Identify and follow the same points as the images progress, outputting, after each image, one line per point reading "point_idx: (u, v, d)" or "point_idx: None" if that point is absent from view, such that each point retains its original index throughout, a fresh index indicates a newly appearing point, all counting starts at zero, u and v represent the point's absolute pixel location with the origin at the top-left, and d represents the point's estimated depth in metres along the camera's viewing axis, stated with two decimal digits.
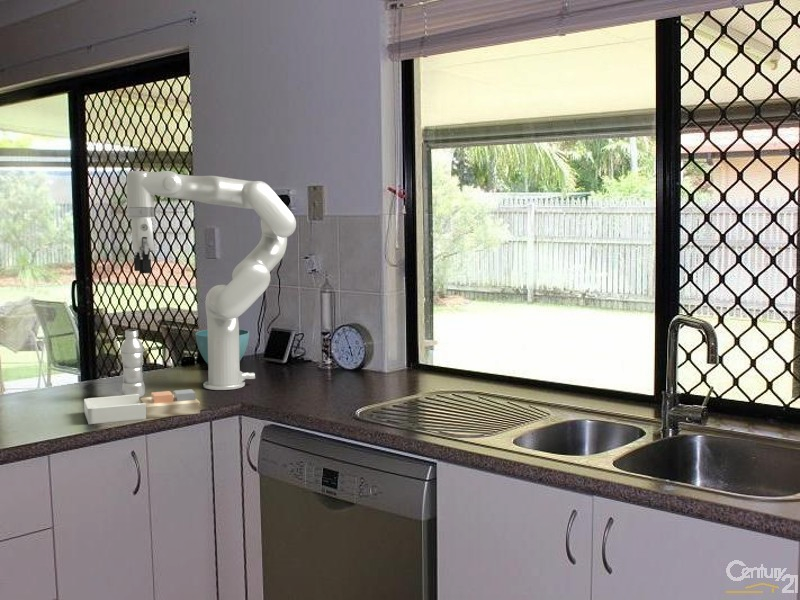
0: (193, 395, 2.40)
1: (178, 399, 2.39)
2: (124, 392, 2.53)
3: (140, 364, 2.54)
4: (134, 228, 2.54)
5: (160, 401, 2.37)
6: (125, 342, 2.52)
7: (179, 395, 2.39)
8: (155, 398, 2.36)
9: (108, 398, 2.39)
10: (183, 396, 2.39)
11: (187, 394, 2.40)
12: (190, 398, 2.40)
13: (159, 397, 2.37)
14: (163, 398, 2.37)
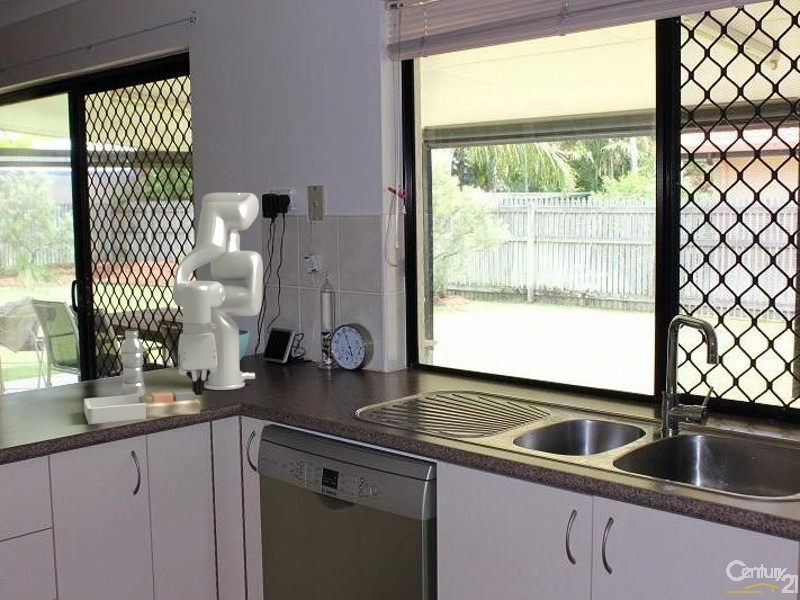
0: (192, 395, 2.40)
1: (177, 399, 2.39)
2: (124, 392, 2.53)
3: (140, 364, 2.54)
4: (208, 344, 2.41)
5: (160, 401, 2.37)
6: (125, 342, 2.52)
7: (178, 395, 2.39)
8: (155, 398, 2.36)
9: (108, 398, 2.39)
10: (182, 396, 2.39)
11: (186, 394, 2.40)
12: (189, 398, 2.40)
13: (159, 397, 2.37)
14: (163, 398, 2.37)
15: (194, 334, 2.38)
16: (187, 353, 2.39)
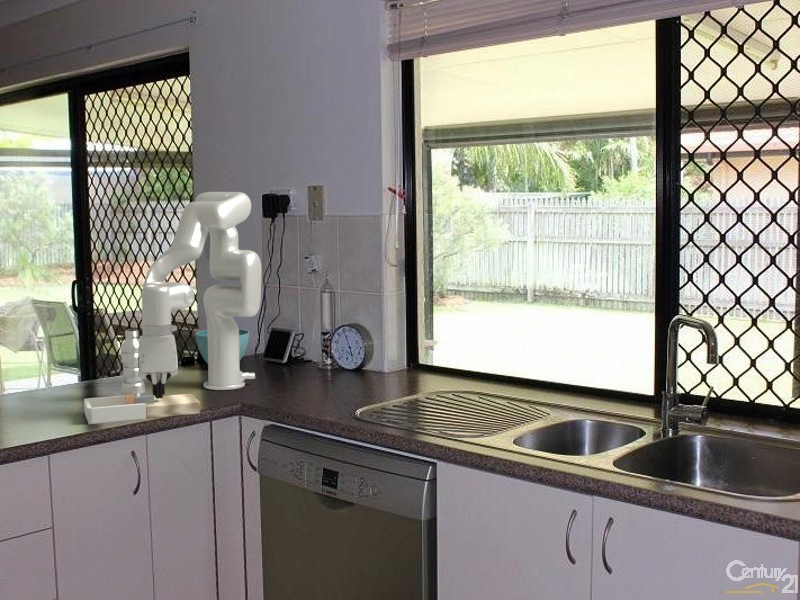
0: (152, 398, 2.36)
1: (136, 402, 2.34)
2: (124, 392, 2.53)
3: None
4: (168, 347, 2.36)
5: None
6: (125, 342, 2.52)
7: (137, 398, 2.34)
8: None
9: (108, 398, 2.39)
10: (142, 399, 2.35)
11: (146, 397, 2.35)
12: (149, 401, 2.36)
13: None
14: None
15: (153, 336, 2.33)
16: (146, 356, 2.34)
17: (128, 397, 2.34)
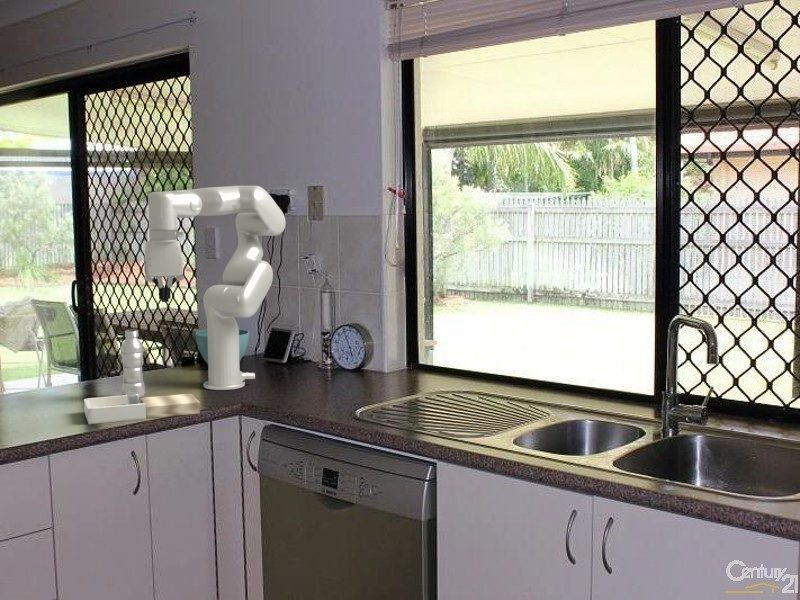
0: (132, 398, 2.34)
1: None
2: (124, 392, 2.53)
3: (140, 364, 2.54)
4: (174, 251, 2.44)
5: None
6: (125, 342, 2.52)
7: None
8: None
9: (108, 398, 2.39)
10: None
11: None
12: (135, 401, 2.34)
13: None
14: None
15: (159, 240, 2.41)
16: (152, 259, 2.42)
17: None
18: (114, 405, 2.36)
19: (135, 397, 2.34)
